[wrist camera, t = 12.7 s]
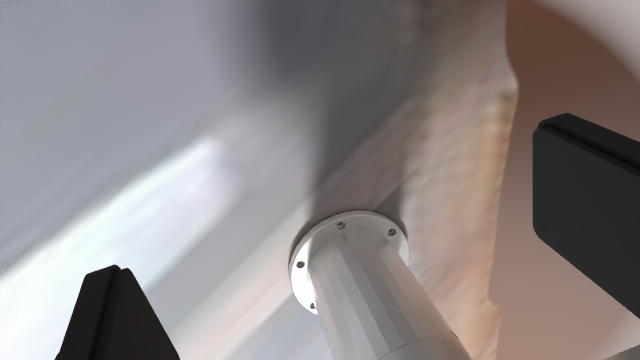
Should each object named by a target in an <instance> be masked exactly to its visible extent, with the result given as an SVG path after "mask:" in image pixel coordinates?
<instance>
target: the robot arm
mask: <svg viewBox="0 0 640 360" xmlns="http://www.w3.org/2000/svg"><path fill="white" fill-rule="evenodd" d="M533 227H534V230H535V232H536V234H537V236H538V237H539V238H540V239H541V240H542V241H544V242H545V243H546V244H547V245H549V246H550V247H551V248H552V249H554V250H555V251H556V252H557V253H558V254H560V255H561V256H562V257H564V258H565V259H566V260H567V261H569V262H570V263H571V264H572V265H573V266H575V267H576V268H577V269H578V270H580V271H581V272H582V273H583V274H585V275H586V276H587V277H588V278H590V279H591V280H592V281H593V282H595V283H596V284H597V285H598V286H600V287H601V288H602V289H603V290H604V291H606V292H607V293H608V294H609V295H611V296H612V297H613V298H614V299H616V300H617V301H618V302H619V303H621V304H622V305H623V306H625V307H626V308H627V309H628V310H629V311H631V312H632V313H633V314H634V315H635V316H637V317H638V318H639V319H640V142H638V141H635V140H633V139H631V138H628V137H626V136H623V135H621V134H618V133H616V132H614V131H611V130H609V129H606V128H604V127H601V126H599V125H597V124H594V123H592V122H589V121H587V120H584V119H582V118H579V117H577V116H575V115H572V114H569V113H564V114H561V115H557V116H555V117H552V118H549V119H546V120H543V121H541V122H540V123H539V125H538V128H537V129H536V130H535V131H534V133H533ZM409 261H410V248H409V245H408V241H407V239H406V237H405V235H404V234H403V232H402V231H401V229H400V228H399V227H398V226H397V225H396V224H395V223H394V222H393V221H392V220H390V219H389V218H388V217H385V216H383V215H381V214H379V213H375V212H371V211H359V210H357V211H349V212H344V213H340V214H337V215H334V216H332V217H330V218H328V219H325V220H323V221H322V222H320V223H319V224H317V225H316V226H314V227H313V228H312V229H311V230H310V231H309V232H308V233H307V234H306V235H305V236H304V237H303V238H302V239H301V241H300V242H299V243H298V245H297V246H296V248H295V250H294V253H293V255H292V257H291V261H290V265H289V279H290V283H291V287H292V290H293V293H294V295H295V297H296V298H297V300H298V301H299V303H300V304H301V305H303V306H304V307H305V308H306V309H307V310H309V311H311V312H312V313H314V314H317V315H318V317H319V320H320V323H321V325H322V328H323V331H324V334H325V337H326V340H327V342H328V345H329V348H330V351H331V354H332V356H333V359H334V360H473V359H472V358H471V356H470V355H469V353H468V352H467V351H466V349H465V348H464V346H463V345H462V343H461V342H460V340H459V339H458V338H457V336H456V335H455V333H454V332H453V330H452V329H451V328H450V326H449V325H448V323H447V322H446V321H445V319H444V318H443V316H442V315H441V313H440V312H439V311H438V309H437V308H436V306H435V305H434V303H433V302H432V301H431V299H430V298H429V296H428V295H427V294H426V292H425V291H424V289H423V288H422V286H421V285H420V284H419V282H418V281H417V279H416V278H415V276H414V275H413V274H412V272H411V271H410V269H409V268H408V267H409ZM55 360H180V358H179V355H178V353H177V351H176V350H175V348H174V346H173V344H172V342H171V341H170V339H169V337H168V335H167V334H166V332H165V330H164V328H163V326H162V325H161V323H160V321H159V319H158V318H157V316H156V314H155V312H154V310H153V309H152V307H151V305H150V303H149V302H148V300H147V298H146V296H145V294H144V293H143V291H142V289H141V287H140V285H139V284H138V282H137V280H136V278H135V277H134V275H133V273H132V272H131V270H130V269H129V268H125V269H122V270H121V268H120V267H119V266H117V265H112V266H109V267H106V268H103V269H100V270H97V271H94V272H91V273H88V274H86V276H85V278H84V280H83V283H82V286H81V289H80V292H79V295H78V298H77V301H76V304H75V307H74V310H73V313H72V316H71V319H70V322H69V325H68V328H67V331H66V334H65V337H64V340H63V343H62V346H61V349H60V352H59V353H58V354H57V356H56V358H55ZM603 360H640V345H638V346H635V347H633V348H630V349H628V350H625V351H623V352H620V353H618V354H615V355H613V356H610V357H608V358H605V359H603Z"/></svg>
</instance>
